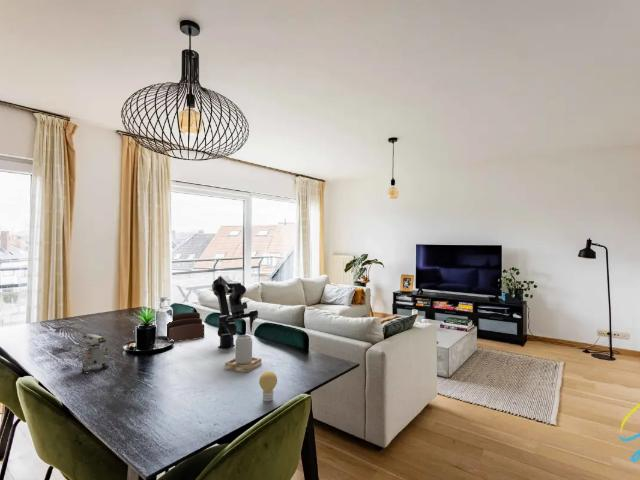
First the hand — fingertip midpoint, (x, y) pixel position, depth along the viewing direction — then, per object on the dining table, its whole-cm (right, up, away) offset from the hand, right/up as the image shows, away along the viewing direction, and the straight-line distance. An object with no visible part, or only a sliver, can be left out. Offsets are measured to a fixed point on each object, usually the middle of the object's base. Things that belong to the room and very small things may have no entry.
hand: (241, 333), depth 163 cm
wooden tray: (+3, -13, -7) cm, 15 cm away
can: (+3, -11, -7) cm, 14 cm away
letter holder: (-42, -13, +37) cm, 58 cm away
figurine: (-62, -12, -13) cm, 64 cm away
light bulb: (+19, -13, -40) cm, 46 cm away
